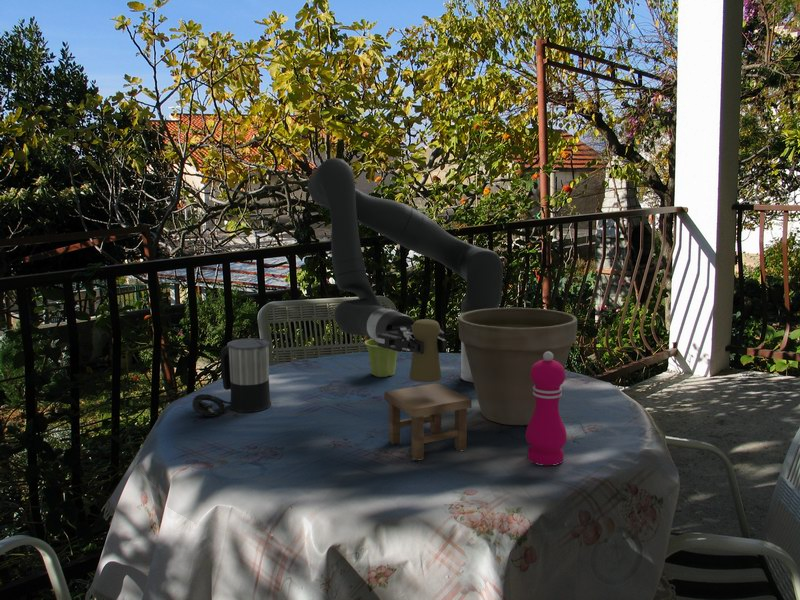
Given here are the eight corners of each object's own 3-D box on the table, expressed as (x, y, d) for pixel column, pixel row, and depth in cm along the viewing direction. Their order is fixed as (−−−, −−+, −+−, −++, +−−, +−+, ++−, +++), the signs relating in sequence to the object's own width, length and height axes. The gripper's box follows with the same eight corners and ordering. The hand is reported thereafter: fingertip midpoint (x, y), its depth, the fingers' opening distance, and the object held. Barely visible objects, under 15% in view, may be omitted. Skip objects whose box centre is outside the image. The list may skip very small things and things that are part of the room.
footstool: (438, 430, 140) (438, 382, 138) (471, 450, 130) (471, 399, 128) (384, 441, 135) (384, 391, 133) (414, 462, 124) (414, 409, 122)
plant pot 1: (402, 369, 186) (402, 338, 185) (399, 379, 177) (399, 346, 175) (368, 369, 187) (367, 337, 186) (362, 378, 178) (362, 345, 176)
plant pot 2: (456, 396, 163) (456, 305, 159) (562, 397, 161) (565, 305, 158) (459, 434, 138) (459, 327, 134) (585, 436, 137) (589, 328, 133)
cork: (445, 374, 132) (446, 318, 130) (436, 383, 126) (437, 324, 124) (415, 371, 134) (415, 315, 132) (404, 380, 128) (405, 322, 126)
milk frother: (280, 403, 159) (277, 339, 157) (238, 425, 145) (234, 355, 142) (228, 396, 165) (225, 334, 162) (183, 416, 150) (179, 349, 148)
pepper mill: (520, 452, 128) (522, 347, 125) (558, 451, 129) (562, 346, 126) (531, 468, 121) (533, 357, 118) (571, 466, 122) (575, 356, 119)
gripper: (359, 313, 137) (398, 330, 122) (422, 308, 144) (467, 323, 129) (359, 350, 139) (398, 371, 124) (421, 343, 145) (466, 362, 130)
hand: (433, 347), depth 126 cm, fingers closed on cork, 4 cm apart
